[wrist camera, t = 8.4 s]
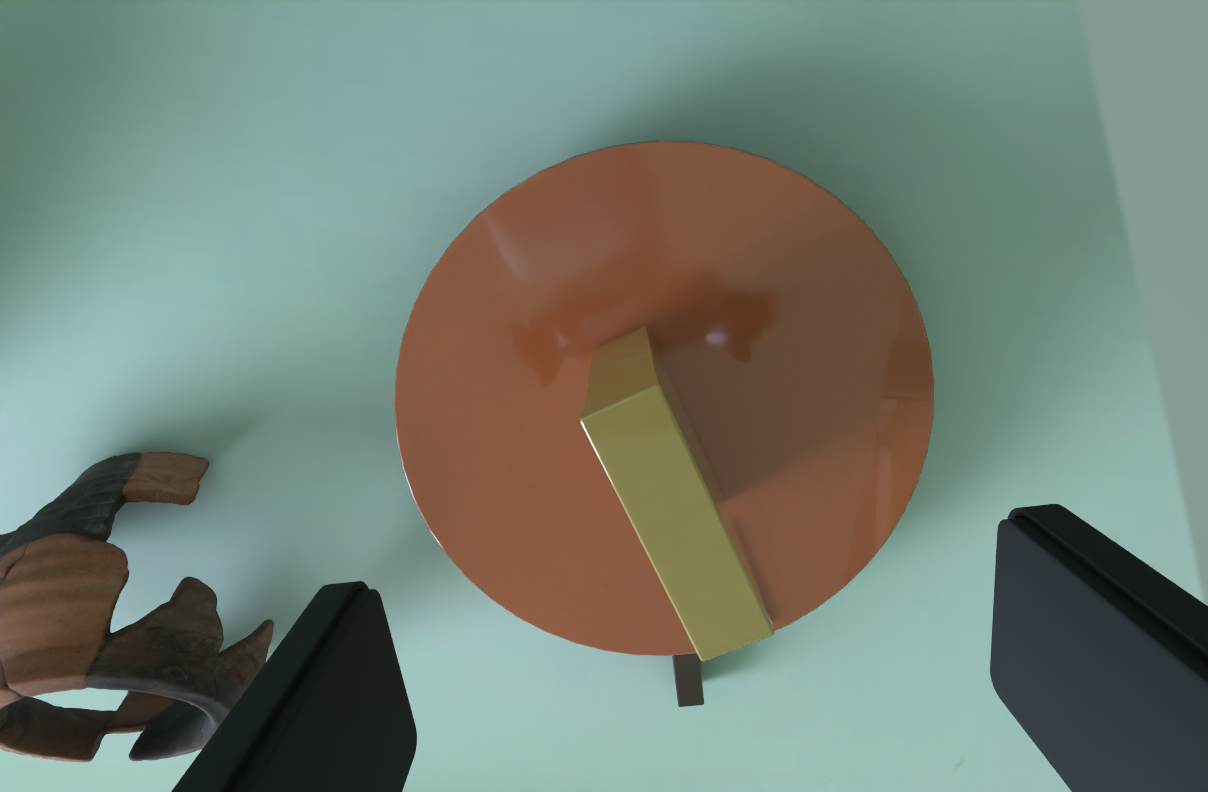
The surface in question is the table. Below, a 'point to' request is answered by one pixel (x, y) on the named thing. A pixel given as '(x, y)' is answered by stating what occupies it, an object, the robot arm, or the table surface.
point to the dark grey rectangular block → (688, 679)
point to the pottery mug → (82, 626)
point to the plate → (731, 348)
